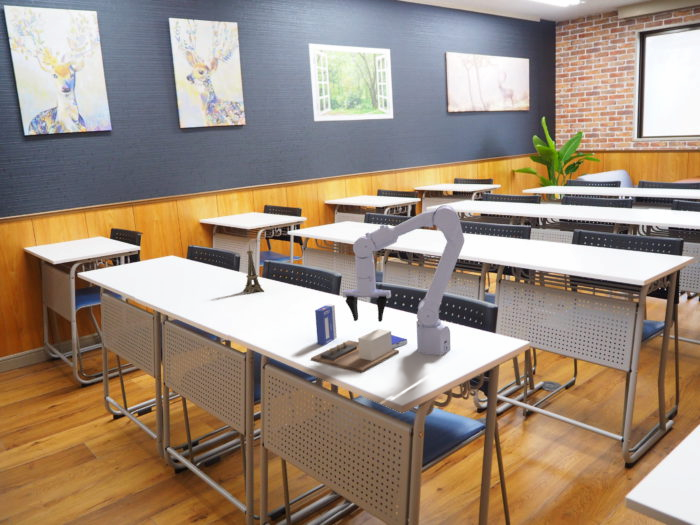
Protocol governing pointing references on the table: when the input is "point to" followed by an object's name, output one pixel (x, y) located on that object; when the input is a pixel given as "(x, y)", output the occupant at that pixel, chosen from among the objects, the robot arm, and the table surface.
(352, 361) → the board
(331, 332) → the walkman
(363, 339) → the block
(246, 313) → the table surface
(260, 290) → the eiffel tower
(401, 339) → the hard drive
